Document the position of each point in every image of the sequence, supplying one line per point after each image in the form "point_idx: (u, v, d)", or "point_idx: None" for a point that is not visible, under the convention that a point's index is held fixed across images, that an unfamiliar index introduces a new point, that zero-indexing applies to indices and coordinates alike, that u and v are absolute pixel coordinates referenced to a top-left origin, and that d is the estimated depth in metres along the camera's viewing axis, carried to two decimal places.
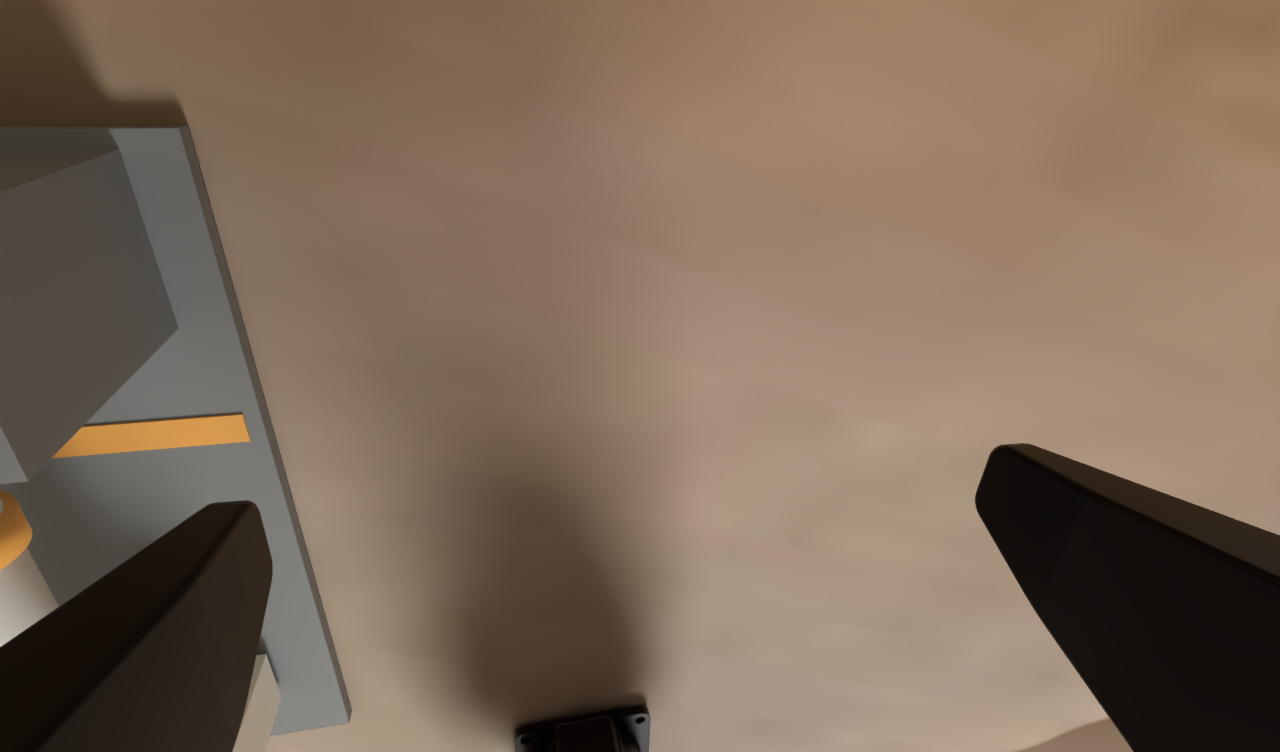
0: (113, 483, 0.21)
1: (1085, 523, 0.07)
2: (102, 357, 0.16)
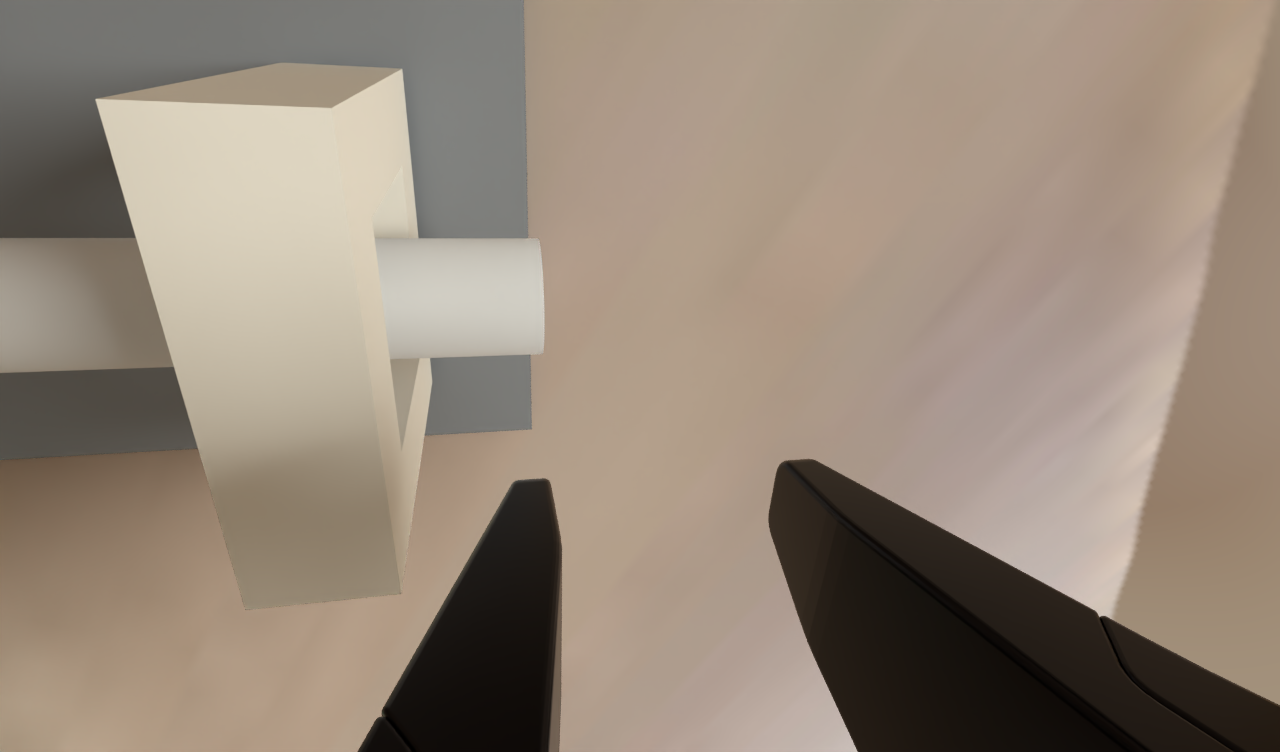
0: None
1: (836, 549, 0.07)
2: None
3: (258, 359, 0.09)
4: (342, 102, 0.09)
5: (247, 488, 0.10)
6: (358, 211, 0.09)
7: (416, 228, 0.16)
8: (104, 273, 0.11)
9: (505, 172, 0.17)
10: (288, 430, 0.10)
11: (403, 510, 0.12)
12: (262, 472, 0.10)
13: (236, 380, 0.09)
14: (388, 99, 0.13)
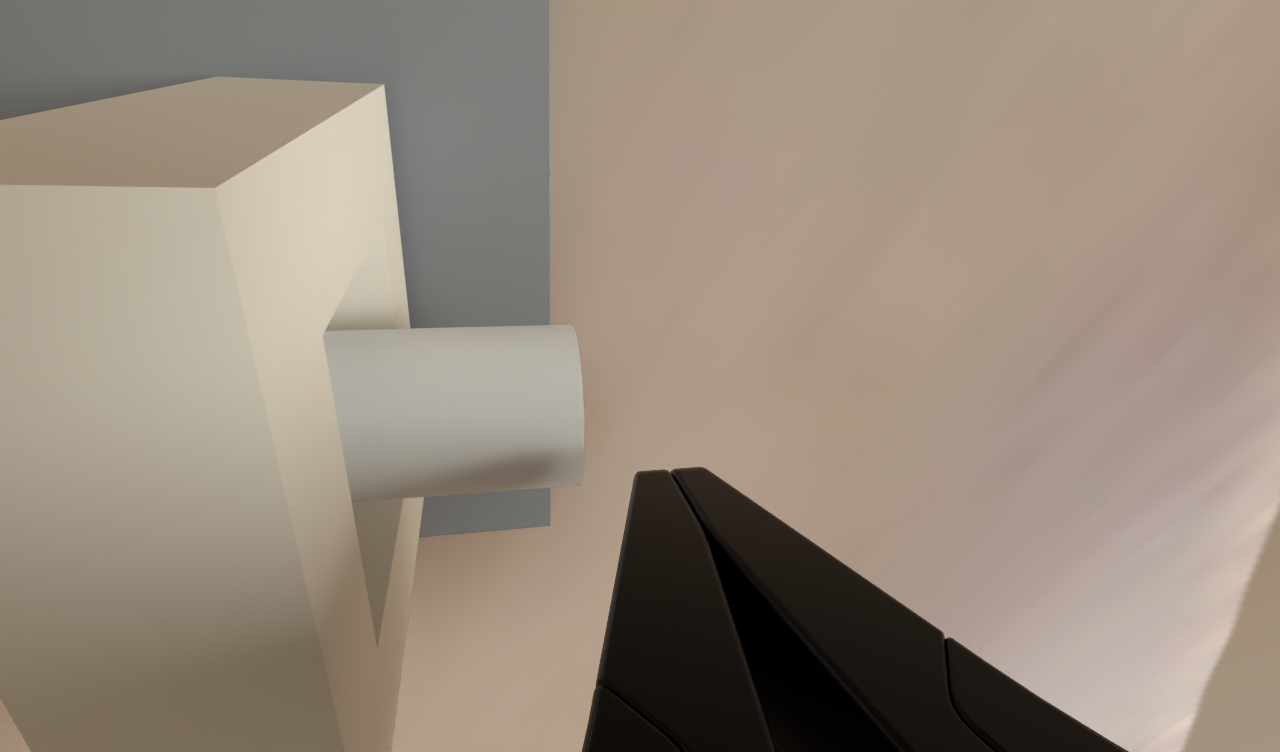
0: None
1: None
2: None
3: (114, 606, 0.05)
4: (250, 167, 0.05)
5: None
6: (289, 346, 0.05)
7: (404, 292, 0.12)
8: None
9: (521, 217, 0.13)
10: (178, 700, 0.06)
11: (379, 736, 0.08)
12: None
13: (78, 638, 0.05)
14: (359, 133, 0.09)
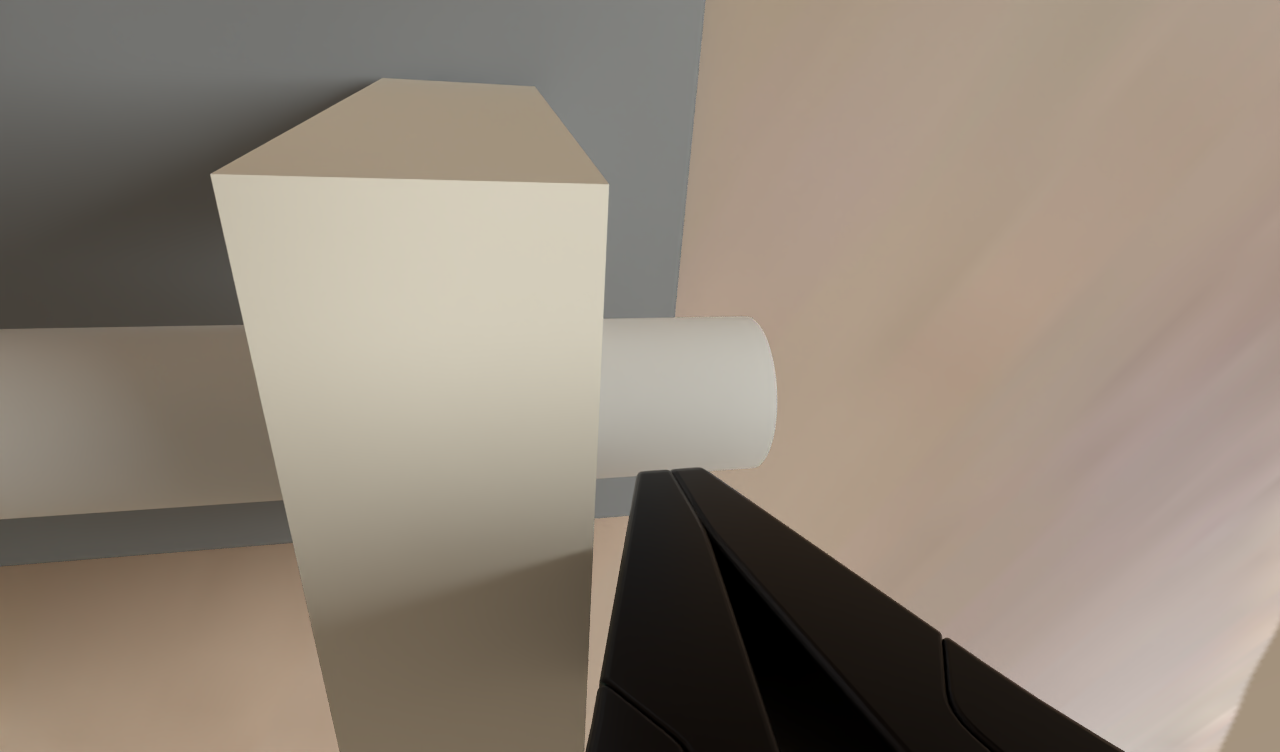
0: None
1: None
2: None
3: (431, 566, 0.06)
4: (594, 165, 0.05)
5: (390, 733, 0.07)
6: None
7: None
8: (193, 386, 0.08)
9: (659, 215, 0.13)
10: (461, 656, 0.06)
11: None
12: (415, 711, 0.07)
13: (393, 595, 0.06)
14: None
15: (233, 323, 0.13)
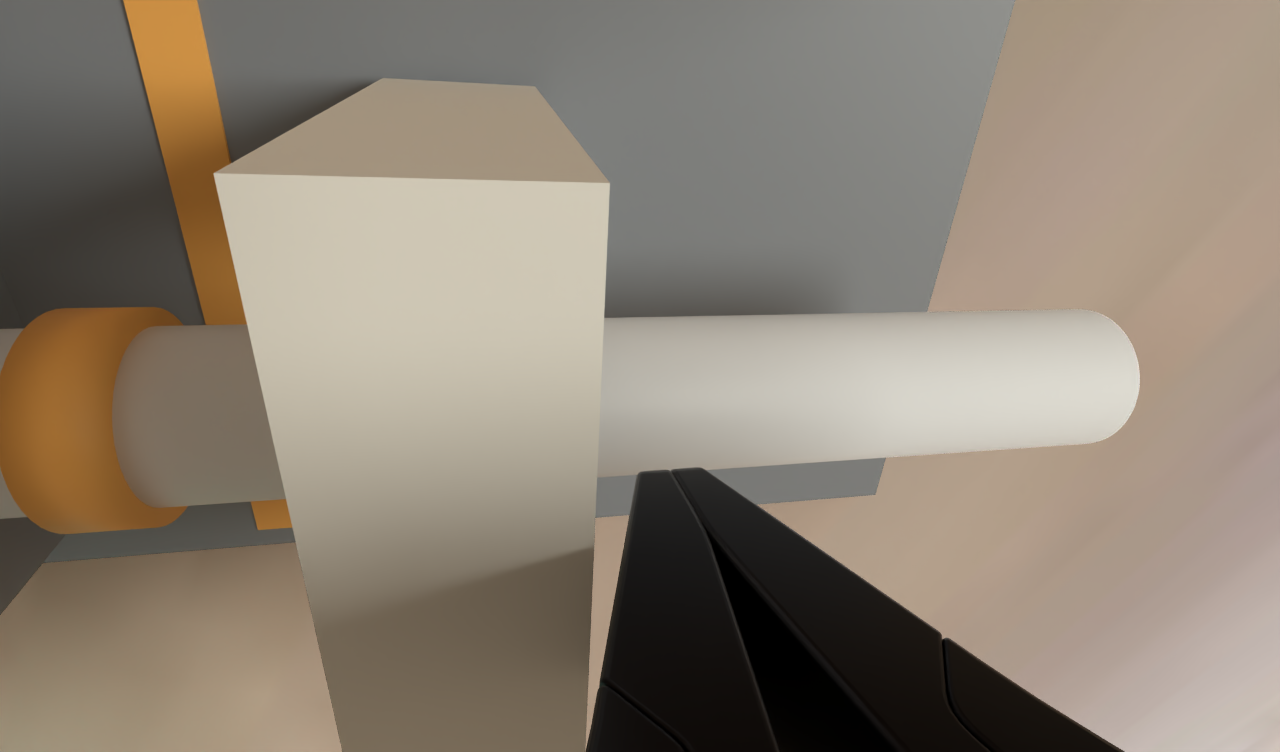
0: None
1: None
2: None
3: (433, 563, 0.06)
4: (594, 164, 0.05)
5: (392, 730, 0.07)
6: None
7: None
8: (697, 367, 0.09)
9: (932, 218, 0.15)
10: (463, 653, 0.06)
11: None
12: (417, 708, 0.07)
13: (395, 593, 0.06)
14: None
15: None
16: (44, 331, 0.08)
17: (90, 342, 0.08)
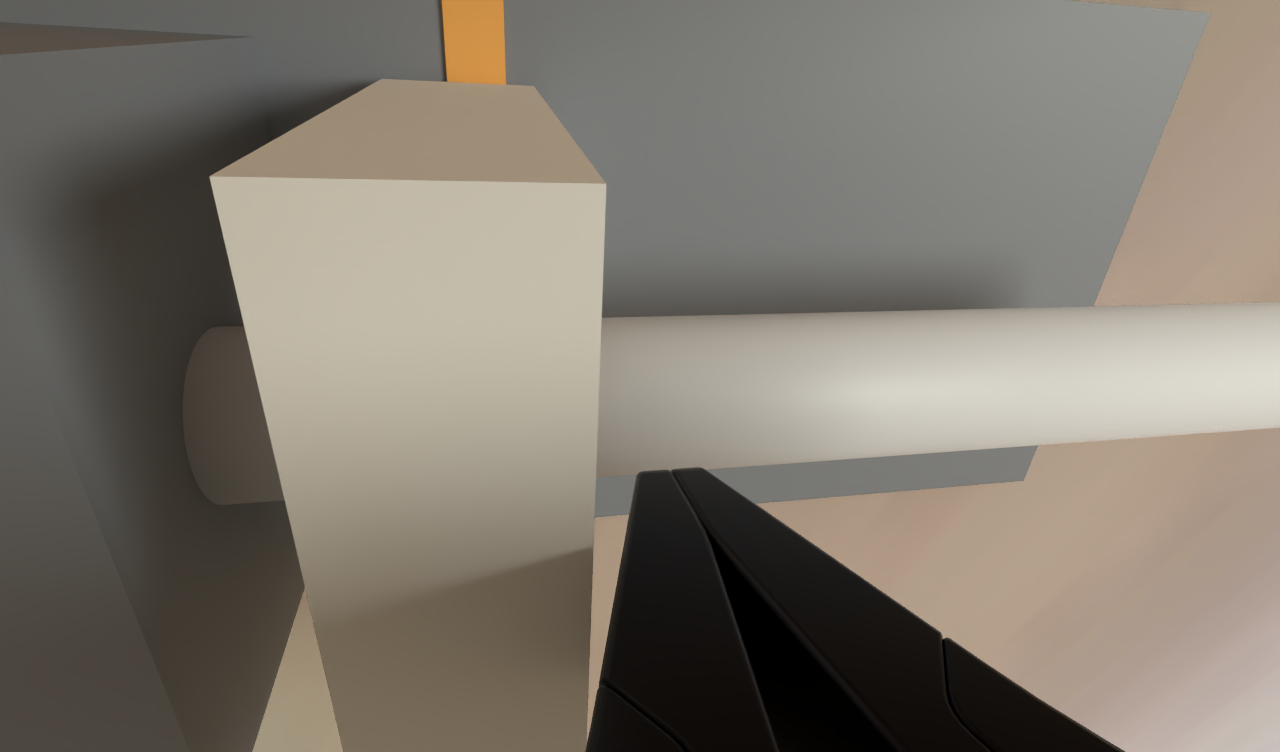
0: None
1: None
2: (52, 38, 0.07)
3: (433, 564, 0.06)
4: (592, 165, 0.05)
5: (393, 731, 0.07)
6: None
7: None
8: (992, 355, 0.10)
9: (1109, 218, 0.16)
10: (463, 654, 0.06)
11: None
12: (418, 709, 0.07)
13: (395, 594, 0.06)
14: None
15: (769, 312, 0.15)
16: None
17: None
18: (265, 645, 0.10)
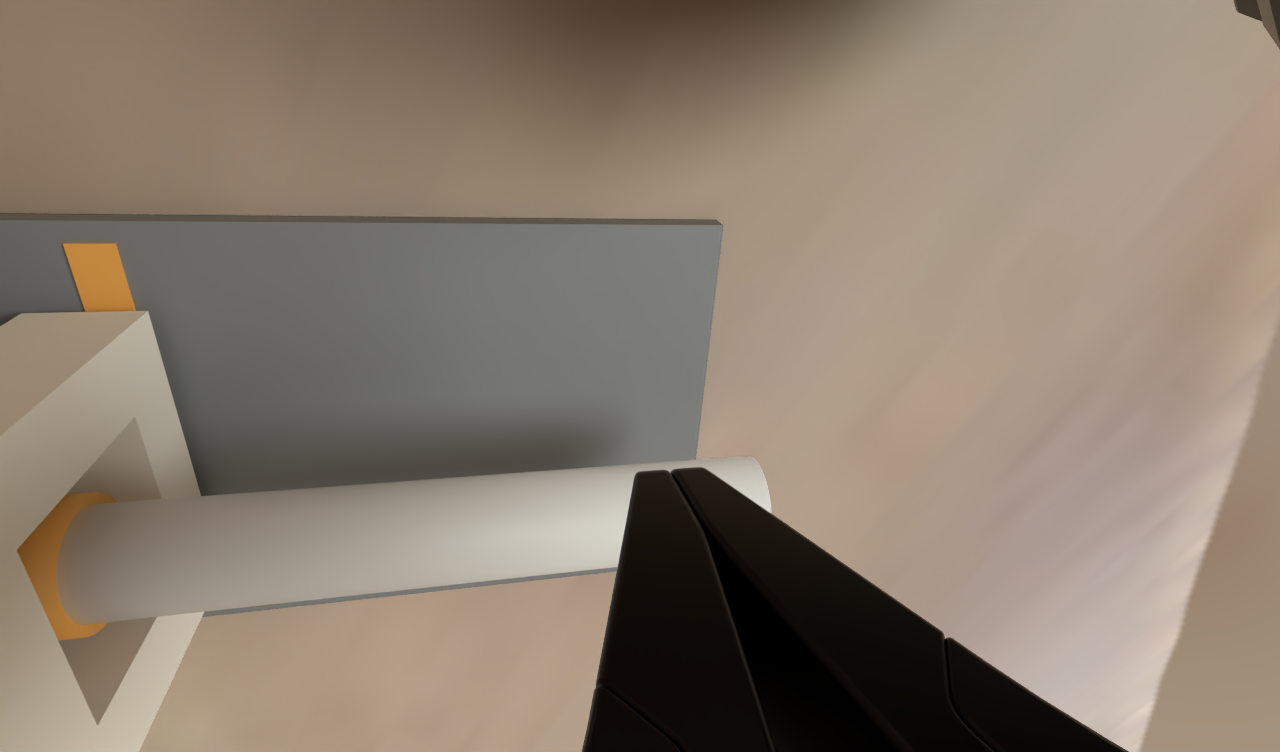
0: (216, 405, 0.17)
1: None
2: None
3: None
4: None
5: None
6: None
7: (181, 446, 0.17)
8: (446, 522, 0.14)
9: (689, 368, 0.20)
10: None
11: None
12: None
13: None
14: (91, 380, 0.13)
15: (406, 449, 0.19)
16: None
17: (43, 529, 0.13)
18: None
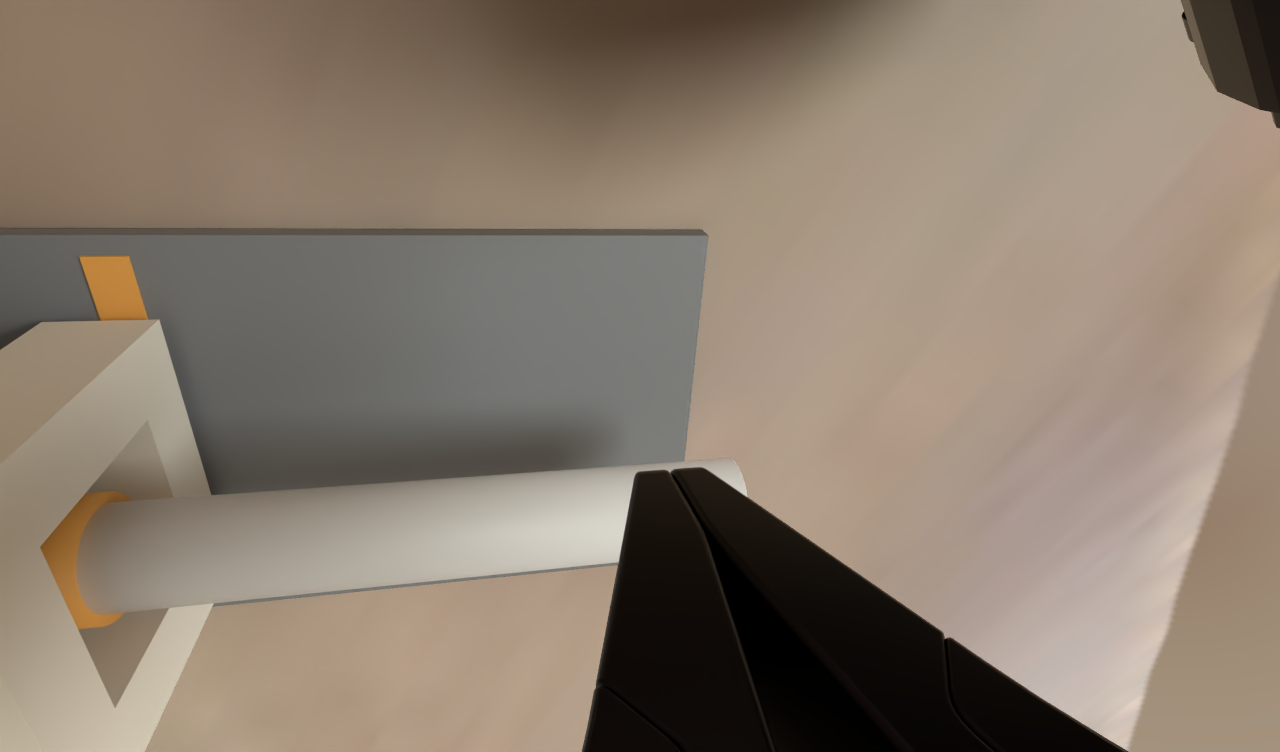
0: (224, 407, 0.18)
1: None
2: None
3: None
4: None
5: None
6: None
7: (191, 446, 0.18)
8: (439, 522, 0.15)
9: (677, 372, 0.21)
10: None
11: None
12: None
13: None
14: (107, 387, 0.14)
15: (405, 449, 0.20)
16: None
17: (63, 527, 0.14)
18: None
